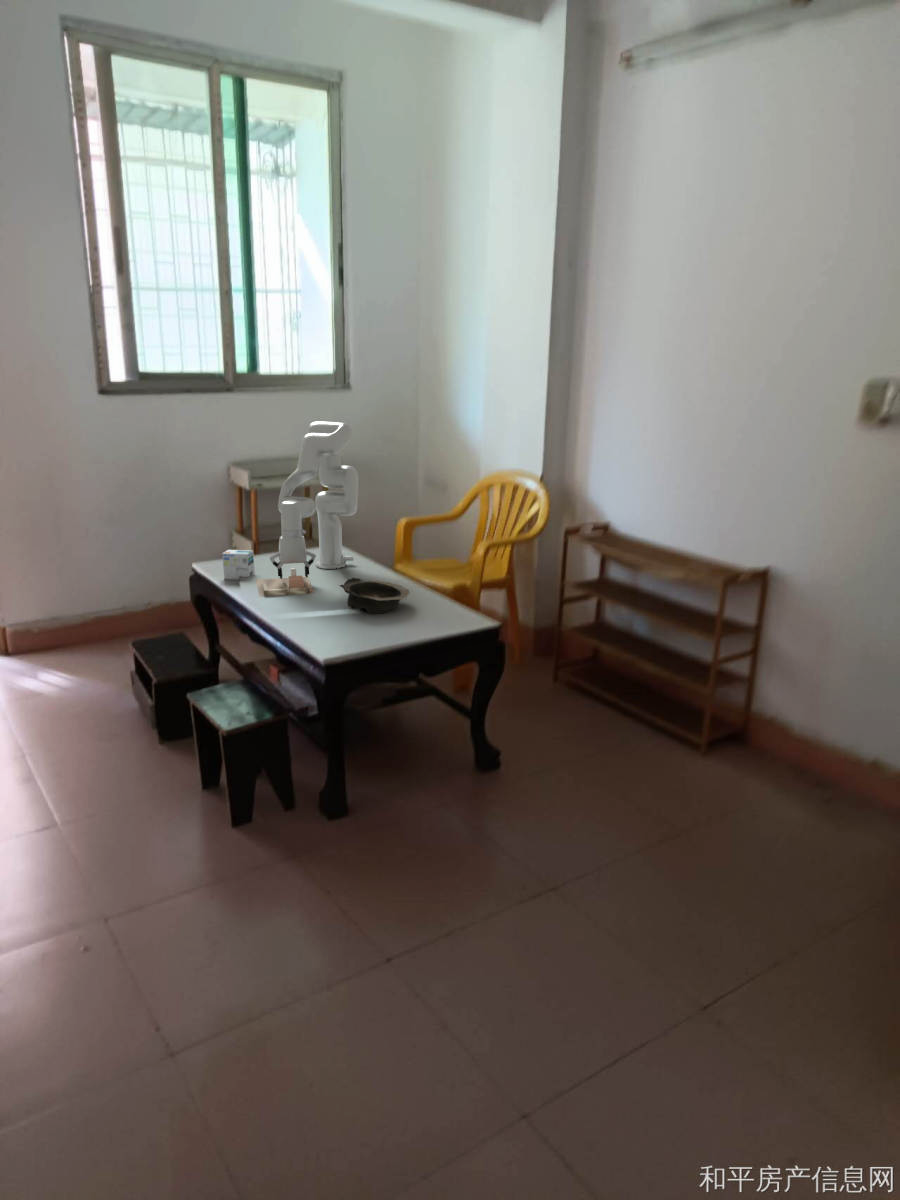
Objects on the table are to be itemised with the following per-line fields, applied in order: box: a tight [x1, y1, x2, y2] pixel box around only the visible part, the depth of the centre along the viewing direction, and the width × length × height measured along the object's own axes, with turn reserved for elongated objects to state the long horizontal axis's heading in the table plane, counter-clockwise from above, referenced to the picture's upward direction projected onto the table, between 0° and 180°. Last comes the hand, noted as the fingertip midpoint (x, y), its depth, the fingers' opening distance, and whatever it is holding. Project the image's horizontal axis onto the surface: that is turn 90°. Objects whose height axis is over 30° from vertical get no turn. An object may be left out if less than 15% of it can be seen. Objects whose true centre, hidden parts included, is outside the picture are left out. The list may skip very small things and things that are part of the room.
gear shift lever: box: [288, 567, 304, 588], centre depth 312 cm, size 5×13×6 cm, turn 16°
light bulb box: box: [222, 549, 256, 580], centre depth 328 cm, size 11×7×11 cm, turn 84°
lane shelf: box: [255, 576, 315, 597], centre depth 314 cm, size 20×22×4 cm
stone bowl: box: [338, 577, 411, 615], centre depth 296 cm, size 25×25×9 cm
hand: (293, 577), depth 317 cm, fingers open, 9 cm apart
